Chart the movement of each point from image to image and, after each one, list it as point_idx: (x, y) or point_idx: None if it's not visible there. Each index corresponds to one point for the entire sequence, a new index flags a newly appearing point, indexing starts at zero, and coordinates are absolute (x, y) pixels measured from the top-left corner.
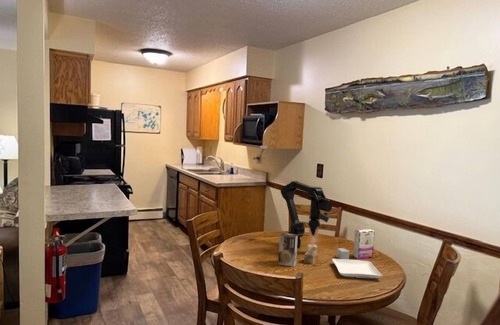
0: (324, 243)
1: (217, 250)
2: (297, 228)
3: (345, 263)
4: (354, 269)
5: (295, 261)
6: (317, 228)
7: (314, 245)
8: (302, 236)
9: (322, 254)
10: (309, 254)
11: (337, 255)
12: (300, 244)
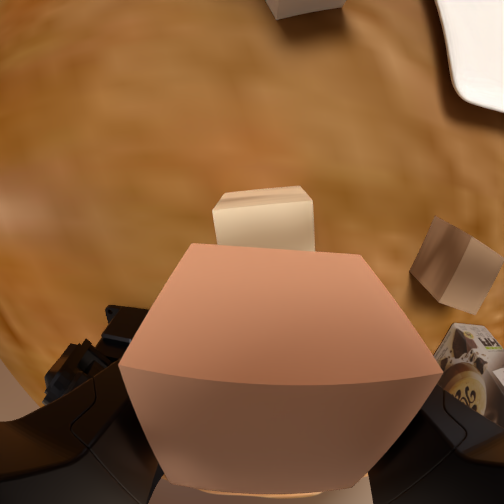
0: (7, 136)
1: (312, 495)
2: (158, 472)
3: (448, 22)
4: (487, 17)
5: (477, 334)
6: (372, 396)
7: (249, 228)
8: (85, 341)
9: (257, 130)
10: (486, 283)
11: (285, 12)
12: (143, 319)
